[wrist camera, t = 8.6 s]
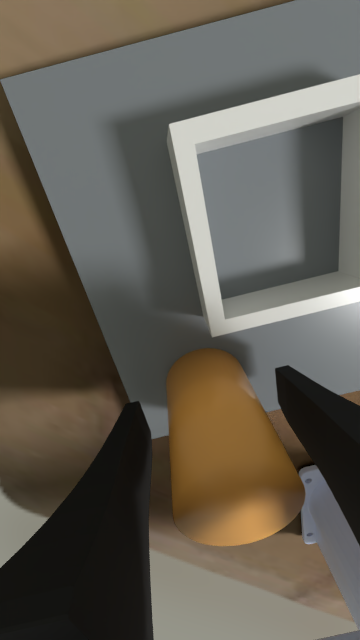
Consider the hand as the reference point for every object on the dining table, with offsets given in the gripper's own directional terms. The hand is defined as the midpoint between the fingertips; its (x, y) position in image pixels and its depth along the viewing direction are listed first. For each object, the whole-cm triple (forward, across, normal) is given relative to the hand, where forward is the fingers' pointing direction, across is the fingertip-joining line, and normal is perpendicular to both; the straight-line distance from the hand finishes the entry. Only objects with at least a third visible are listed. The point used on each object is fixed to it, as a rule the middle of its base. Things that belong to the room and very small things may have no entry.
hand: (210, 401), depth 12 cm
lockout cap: (+1, 0, 0) cm, 1 cm away
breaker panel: (+3, -8, -5) cm, 10 cm away
